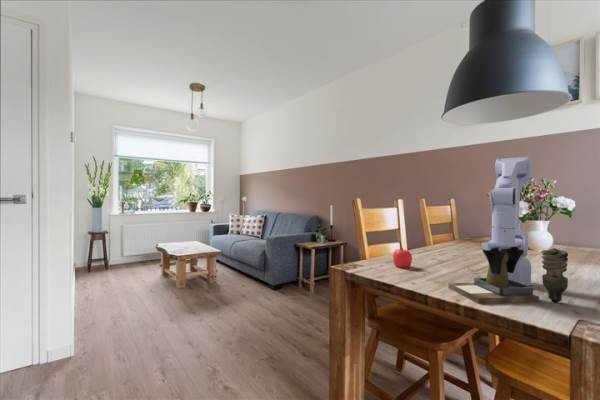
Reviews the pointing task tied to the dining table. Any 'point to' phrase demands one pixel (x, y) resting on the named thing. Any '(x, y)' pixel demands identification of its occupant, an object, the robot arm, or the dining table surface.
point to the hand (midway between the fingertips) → (502, 273)
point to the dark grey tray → (513, 289)
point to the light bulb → (555, 273)
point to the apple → (402, 258)
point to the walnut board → (492, 296)
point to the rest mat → (474, 289)
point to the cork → (499, 279)
